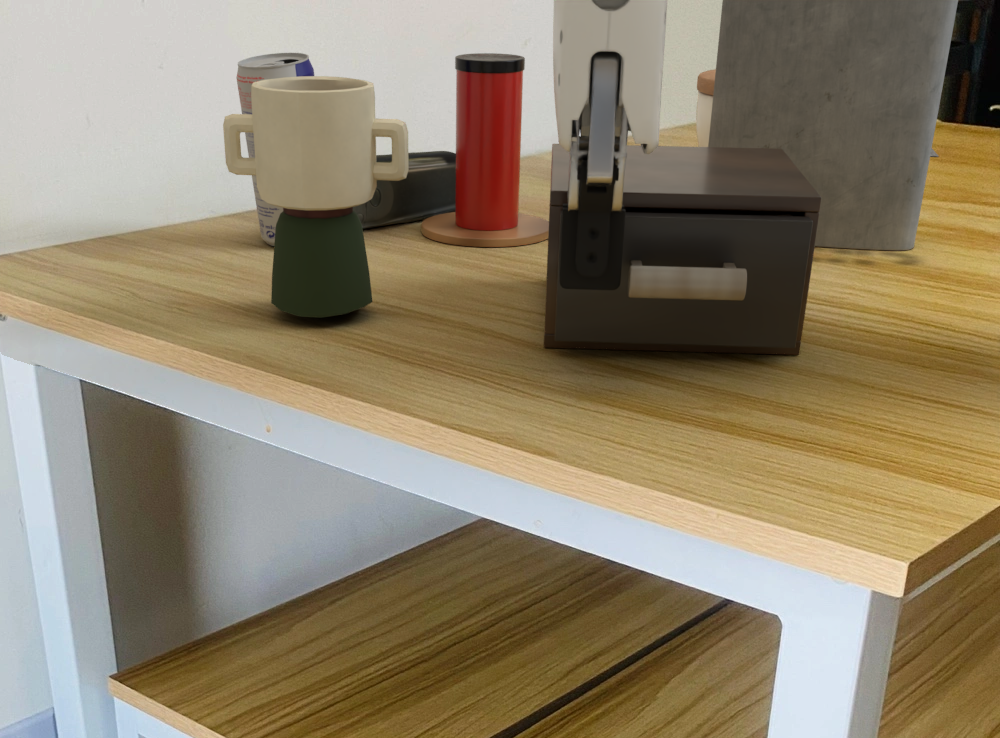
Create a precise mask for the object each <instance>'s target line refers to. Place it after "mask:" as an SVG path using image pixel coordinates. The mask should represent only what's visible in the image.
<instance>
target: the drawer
mask: <svg viewBox="0 0 1000 738" xmlns="http://www.w3.org/2000/svg"><path fill="white" fill-rule="evenodd" d="M624 209H625V211H626V212H625V225H624V239H623V253H622V267H621V281H620V286H619V287H618V288H617V289H616V290H582V289H564V288H562V287H561V285H560V281H559V278H560V277H559V270H560V250H561V229H562V211H561V214H560V235H559V256H558V277H557V298H556V320H555V341H568V342H602V343H636V344H671V345H705V346H739V347H774V348H795V347H796V340H797V333H798V325H799V318H800V311H801V304H802V297H803V290H804V283H805V275H806V268H807V261H808V254H809V247H810V240H811V233H812V226H813V221H812V220H811V218H810V217H802V216H792V214H791V212H785V211H744V210H703V209H662V208H624Z"/></svg>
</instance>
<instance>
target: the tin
mask: <svg viewBox="0 0 1000 738" xmlns="http://www.w3.org/2000/svg"><path fill="white" fill-rule="evenodd" d="M525 59H526V58H525V57H524V56H522V55H518V54H513V53H512V54H511V53H510V54H509V53H497V52H496V53H493V52H492V53H490V52H489V53H487V52H484V53H483V52H481V53H479V52H477V53H476V52H475V53H464V54H458V55H455V57H454V60H455V61H454V69H455V71H456V75H455V77H456V79H455V80H456V83H455V87H456V88H455V89H456V90H455V94H456V95H455V154H456V184H455V224H456V225H457V226H459V227H461V228H465V229H470V230H479V231H498V230H506V229H511V228H514V227H516V226H517V225H518V215H519V213H520V212H519V210H520V183H521V182H520V178H521V149H522V143H521V142H522V118H523V117H522V116H523V114H522V113H523V89H524V87H523V85H524V84H523V83H524V71H525V68H526V60H525Z"/></svg>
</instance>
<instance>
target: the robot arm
mask: <svg viewBox="0 0 1000 738" xmlns="http://www.w3.org/2000/svg"><path fill="white" fill-rule="evenodd" d="M667 15H668V0H553V15H552V17H553V19H552V20H553V22H552V30H553V31H552V69H553V70H552V71H553V72H552V73H553V74H552V75H553V77H552V78H553V93H554V109H555V120H556V128H557V130H556V131H557V139H558V144H560V145H561V146H562V147H563V148H564V149H565V150H566V151H568V152H570V154H569V176H568V198H567V202H568V204H563V209H562V229H561V250H560V270H559V277H560V278H559V281H560V285H561V287H562V288H564V289H582V290H616V289H617V288H618V287H619V286H620V281H621V267H622V253H623V239H624V225H625V212H626V211H625V209H624V208H625V207H624V205H622V201H623V189H624V176H625V163H626V158H627V152H626V151H627V145H628V138H629V137H628V136H629V132H631V136H632V139H633V142H634V144H636V145H639V144H640V146H642V149H643V152H644V154H650V153H652V152H653V151H654V150H655V149H656V148H657V147H658V146H660V126H661V125H660V123H661V106H662V89H663V75H664V61H665V57H664V56H665V44H666V33H667V32H666V29H667Z"/></svg>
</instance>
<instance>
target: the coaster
mask: <svg viewBox="0 0 1000 738" xmlns="http://www.w3.org/2000/svg"><path fill="white" fill-rule="evenodd" d="M420 223H421V224H420V232H421V234H422V236H424V237H425V238H427V239H429V240H432V241H435V242H439V243H442V244H447V245H454V246H462V247H474V248H506V247H508V248H509V247H519V246H527V245H532V244H533V245H534V244H536V243H541V242H543V241H545V240H548V232H549V220H547V219H546V218H543V217H540V216H536V215H532V214H527V213H522V212H519V215H518V225H517V226H516V227H514V228H511V229H506V230H498V231H479V230H470V229H465V228H461V227H459V226H457V225H456V224H455V212H451V213H444V214H439V215H435V216H432V217H429V218H427V219H423V220H422V221H421V222H420Z"/></svg>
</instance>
